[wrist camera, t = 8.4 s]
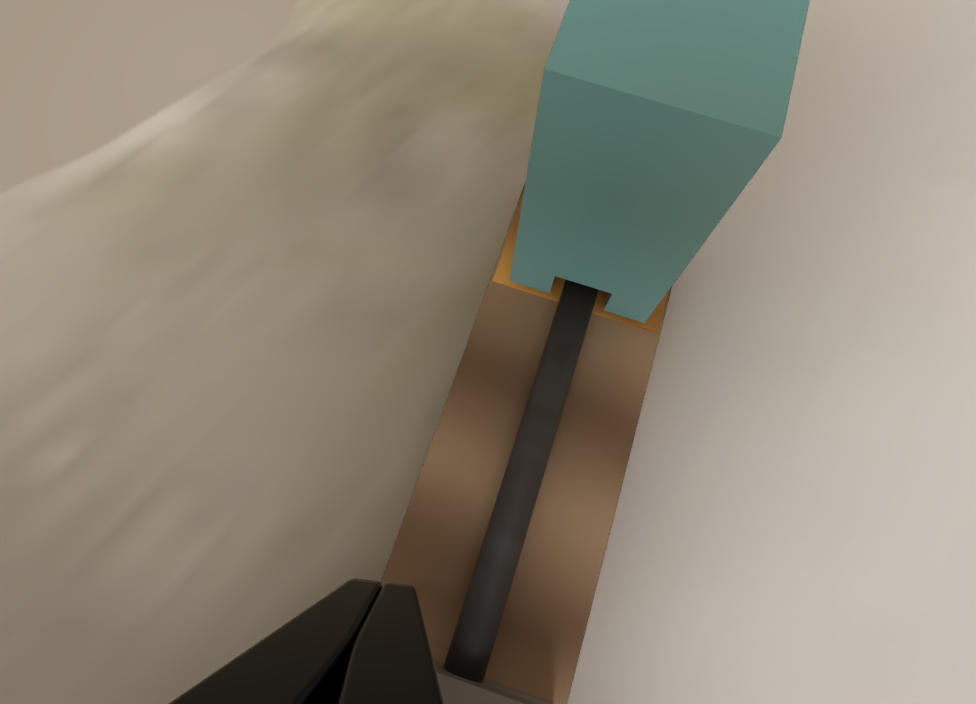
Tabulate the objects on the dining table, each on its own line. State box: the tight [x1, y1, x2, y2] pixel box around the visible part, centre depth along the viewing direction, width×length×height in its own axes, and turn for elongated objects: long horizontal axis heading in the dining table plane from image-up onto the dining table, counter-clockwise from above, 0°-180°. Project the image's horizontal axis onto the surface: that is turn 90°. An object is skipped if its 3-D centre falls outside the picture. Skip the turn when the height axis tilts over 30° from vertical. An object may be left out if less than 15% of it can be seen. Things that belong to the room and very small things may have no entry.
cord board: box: [381, 185, 672, 704], centre depth 21 cm, size 20×6×4 cm, turn 162°
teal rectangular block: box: [509, 0, 810, 323], centre depth 18 cm, size 4×5×10 cm
